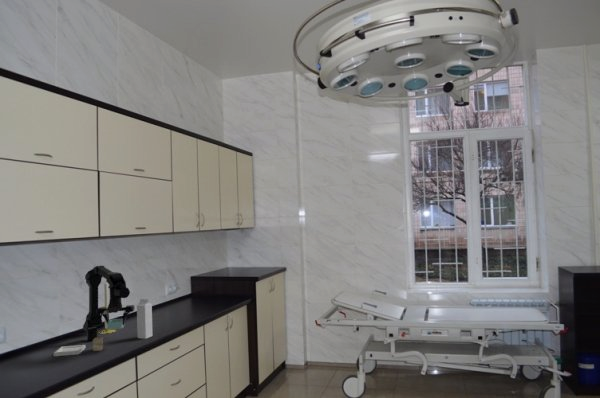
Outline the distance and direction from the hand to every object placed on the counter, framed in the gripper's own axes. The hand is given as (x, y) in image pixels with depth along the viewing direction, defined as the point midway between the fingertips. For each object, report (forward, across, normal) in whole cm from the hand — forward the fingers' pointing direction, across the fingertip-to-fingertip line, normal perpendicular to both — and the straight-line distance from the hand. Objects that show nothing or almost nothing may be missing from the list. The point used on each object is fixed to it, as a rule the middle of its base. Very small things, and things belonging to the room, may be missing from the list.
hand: (116, 325), depth 248 cm
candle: (+12, -14, +40) cm, 44 cm away
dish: (+12, -23, -2) cm, 26 cm away
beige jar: (+12, -9, -2) cm, 15 cm away
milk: (+12, +12, +18) cm, 25 cm away
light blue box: (+1, 0, 0) cm, 1 cm away
